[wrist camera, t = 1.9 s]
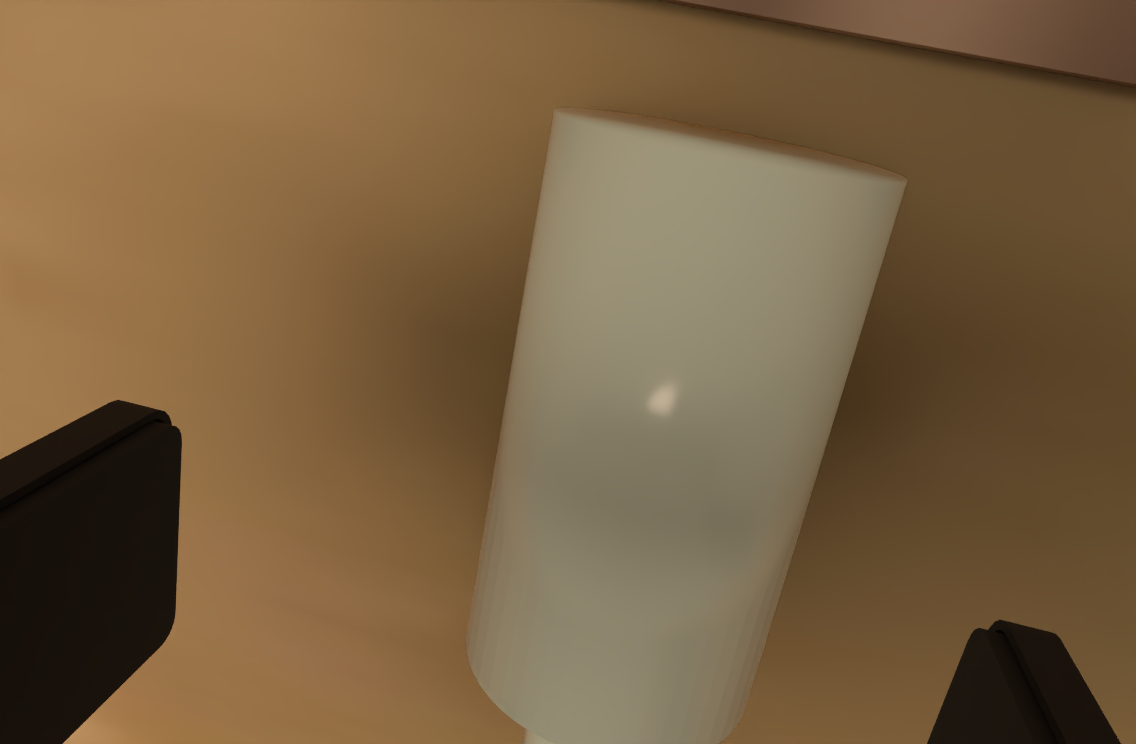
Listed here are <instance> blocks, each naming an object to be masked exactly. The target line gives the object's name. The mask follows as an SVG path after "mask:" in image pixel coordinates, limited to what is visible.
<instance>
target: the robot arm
mask: <svg viewBox="0 0 1136 744" xmlns="http://www.w3.org/2000/svg"><path fill="white" fill-rule="evenodd" d="M181 449H182V438H181V433H180V430H179V429H178V428H177V427H176V426H172V423H171V420H170V417H169V415H168V414H167V413H166V412H165V411H161V410H157V409H153V408H149V407H145V406H141V405H137V404H133V403H129V402H125V401H121V400H116V401H113V402H110V403H108V404H106V405H104V406H102V407H100V408H98V409H96V410H95V411H93V412H91V413H89V414H87V415H85V416H83V417H81V418H79V419H77V420H75V421H73V422H71V423H70V424H68V425H66V426H64V427H62V428H60V429H58V430H56V431H54V432H52V433H50V434H48V435H46V436H45V437H43V438H41V439H39V440H37V441H35V442H33V443H31V444H29V445H27V446H25V447H23V448H21V449H19V450H18V451H16V452H14V453H12V454H10V455H8V456H6V457H4V458H2V459H0V744H63V743H64V742H65V741H66V740H67V739H68V738H69V737H70V736H71V735H72V734H73V733H74V732H75V731H76V730H77V729H78V728H79V727H80V726H81V725H82V724H83V723H84V722H85V721H86V720H87V719H88V718H89V717H90V716H91V715H92V714H93V713H94V712H95V711H96V710H97V709H98V708H99V707H100V706H101V705H102V704H103V703H104V702H105V701H106V700H107V699H108V698H109V697H110V696H111V695H112V694H113V693H114V692H115V691H116V690H117V689H118V688H119V687H120V686H121V685H122V684H123V683H124V682H125V681H126V680H127V679H128V678H129V677H130V676H131V675H132V674H133V673H134V672H135V671H136V670H137V669H138V668H139V667H140V666H141V665H142V664H143V663H144V662H145V661H146V660H147V659H148V658H149V657H150V656H151V655H153V654H154V653H155V652H156V651H157V650H158V649H159V648H160V647H161V645H162V644H163V643H164V642H165V640H166V639H167V637H168V635H169V633H170V631H171V629H172V626H173V623H174V619H175V610H176V583H177V556H178V529H179V502H180V476H181ZM927 744H1121V743H1120V741H1119V740H1118V738H1117V736H1116V735H1115V733H1114V731H1113V729H1112V728H1111V726H1110V724H1109V722H1108V721H1107V719H1106V717H1105V716H1104V714H1103V712H1102V710H1101V709H1100V707H1099V705H1098V703H1097V702H1096V700H1095V698H1094V696H1093V695H1092V693H1091V691H1090V690H1089V688H1088V686H1087V684H1086V683H1085V681H1084V679H1083V677H1082V676H1081V674H1080V672H1079V670H1078V669H1077V667H1076V665H1075V664H1074V662H1073V660H1072V658H1071V657H1070V655H1069V653H1068V651H1067V650H1066V648H1065V646H1064V644H1063V643H1062V641H1061V639H1060V638H1059V637H1058V636H1057V635H1056V634H1054V633H1051V632H1047V631H1043V630H1039V629H1035V628H1031V627H1027V626H1023V625H1019V624H1015V623H1011V622H1007V621H1003V620H998V621H996V622H994V623H993V625H992V626H991V627H990V628H989V630H985V629H981V628H978V629H975V630H974V631H973V633H972V634H971V636H970V638H969V640H968V642H967V644H966V647H965V649H964V652H963V655H962V657H961V660H960V662H959V665H958V667H957V670H956V672H955V675H954V677H953V680H952V682H951V685H950V687H949V690H948V692H947V695H946V697H945V700H944V702H943V705H942V707H941V710H940V713H939V715H938V718H937V720H936V723H935V725H934V728H933V730H932V733H931V735H930V738H929V740H928V743H927Z"/></svg>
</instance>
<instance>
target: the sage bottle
mask: <svg viewBox="0 0 1136 744" xmlns="http://www.w3.org/2000/svg"><path fill="white" fill-rule="evenodd" d="M906 184H907V179H906V178H905V177H903V176H901V175H899V174H897V173H894V172H891V171H889V170H886V169H883V168H880V167H877V166H873V165H870V164H867V163H863V162H860V161H856V160H853V159H849V158H845V157H841V156H838V155H834V154H830V153H826V152H822V151H818V150H814V149H809V148H805V147H801V146H797V145H792V144H788V143H784V142H779V141H774V140H770V139H765V138H760V137H755V136H750V135H745V134H740V133H735V132H730V131H725V130H720V129H715V128H710V127H705V126H700V125H695V124H689V123H684V122H678V121H672V120H667V119H661V118H654V117H648V116H642V115H635V114H628V113H621V112H614V111H606V110H597V109H587V108H571V107H563V108H556V109H555V110H554V114H553V120H552V126H551V132H550V138H549V144H548V150H547V156H546V162H545V168H544V174H543V180H542V186H541V192H540V198H539V204H538V210H537V216H536V222H535V228H534V234H533V240H532V246H531V252H530V258H529V264H528V270H527V276H526V282H525V288H524V294H523V300H522V306H521V312H520V318H519V324H518V330H517V336H516V342H515V348H514V353H513V359H512V365H511V371H510V377H509V383H508V389H507V395H506V401H505V407H504V413H503V419H502V425H501V431H500V437H499V443H498V449H497V455H496V461H495V467H494V473H493V479H492V485H491V491H490V497H489V503H488V509H487V515H486V521H485V527H484V533H483V539H482V545H481V551H480V557H479V563H478V569H477V575H476V581H475V587H474V593H473V599H472V604H471V610H470V616H469V622H468V628H467V637H466V649H467V657H468V660H469V663H470V667H471V670H472V672H473V674H474V676H475V677H476V679H477V681H478V683H479V685H480V686H481V687H482V689H483V690H484V692H485V693H486V694H487V696H488V697H489V698H490V699H491V700H492V701H493V702H494V703H495V704H496V705H497V706H498V707H499V709H501V710H502V711H503V712H504V713H505V714H507V715H508V716H509V717H510V718H511V719H513V720H514V721H515V722H517V723H518V724H520V725H521V726H523V727H524V728H525V731H524V736H523V741H522V744H718V743H720V742H721V741H722V740H724V739H725V738H726V737H727V736H728V735H729V734H731V732H732V731H733V730H734V729H735V727H736V726H737V725H738V724H739V722H740V720H741V718H742V716H743V714H744V712H745V708H746V705H747V702H748V699H749V695H750V692H751V689H752V686H753V682H754V679H755V676H756V673H757V669H758V666H759V663H760V660H761V656H762V653H763V650H764V647H765V643H766V640H767V637H768V633H769V630H770V627H771V624H772V620H773V617H774V614H775V611H776V607H777V604H778V601H779V598H780V594H781V591H782V588H783V585H784V581H785V578H786V575H787V572H788V568H789V565H790V562H791V559H792V555H793V552H794V549H795V545H796V542H797V539H798V536H799V532H800V529H801V526H802V523H803V519H804V516H805V513H806V510H807V506H808V503H809V500H810V497H811V493H812V490H813V487H814V484H815V480H816V477H817V474H818V470H819V467H820V464H821V461H822V457H823V454H824V451H825V448H826V444H827V441H828V438H829V435H830V431H831V428H832V425H833V422H834V418H835V415H836V412H837V409H838V405H839V402H840V399H841V396H842V392H843V389H844V386H845V382H846V379H847V376H848V373H849V369H850V366H851V363H852V360H853V356H854V353H855V350H856V347H857V343H858V340H859V337H860V334H861V330H862V327H863V324H864V321H865V317H866V314H867V311H868V307H869V304H870V301H871V298H872V294H873V291H874V288H875V285H876V281H877V278H878V275H879V272H880V268H881V265H882V262H883V259H884V255H885V252H886V249H887V246H888V242H889V239H890V236H891V233H892V229H893V226H894V223H895V219H896V216H897V213H898V210H899V206H900V203H901V200H902V197H903V193H904V190H905V187H906Z"/></svg>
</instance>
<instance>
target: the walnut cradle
mask: <svg viewBox="0 0 1136 744" xmlns="http://www.w3.org/2000/svg"><path fill="white" fill-rule="evenodd" d="M659 1H665V2H670V3H676V4H681V5H687V6H692V7H698V8H703V9H709V10H714V11H719V12H725V13H730V14H736V15H741V16H747V17H752V18H758V19H763V20H769V21H774V22H780V23H785V24H791V25H796V26H801V27H807V28H812V29H818V30H823V31H829V32H834V33H840V34H845V35H851V36H856V37H862V38H867V39H872V40H878V41H883V42H889V43H894V44H900V45H905V46H911V47H916V48H922V49H927V50H933V51H938V52H943V53H949V54H954V55H960V56H965V57H971V58H976V59H982V60H987V61H993V62H998V63H1004V64H1009V65H1015V66H1020V67H1025V68H1031V69H1036V70H1042V71H1047V72H1053V73H1058V74H1064V75H1069V76H1075V77H1080V78H1086V79H1091V80H1096V81H1102V82H1107V83H1113V84H1118V85H1124V86H1129V87H1135V88H1136V0H659Z"/></svg>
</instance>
